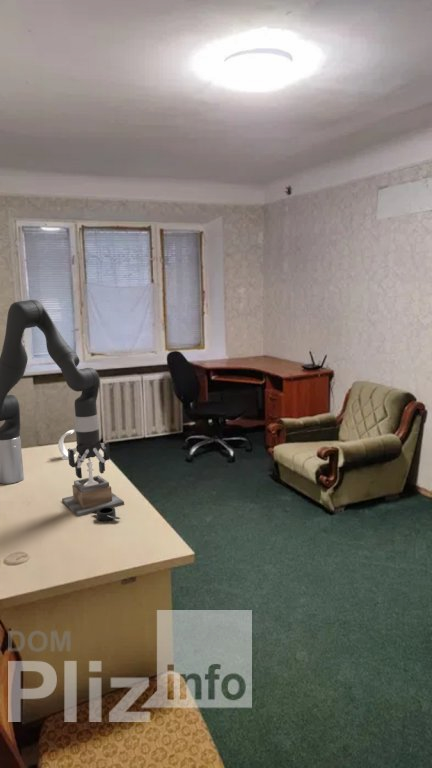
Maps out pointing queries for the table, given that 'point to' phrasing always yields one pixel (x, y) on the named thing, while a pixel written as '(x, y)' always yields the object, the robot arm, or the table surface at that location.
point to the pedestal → (91, 496)
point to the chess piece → (90, 475)
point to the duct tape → (106, 514)
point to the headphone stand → (61, 445)
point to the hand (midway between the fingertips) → (90, 475)
